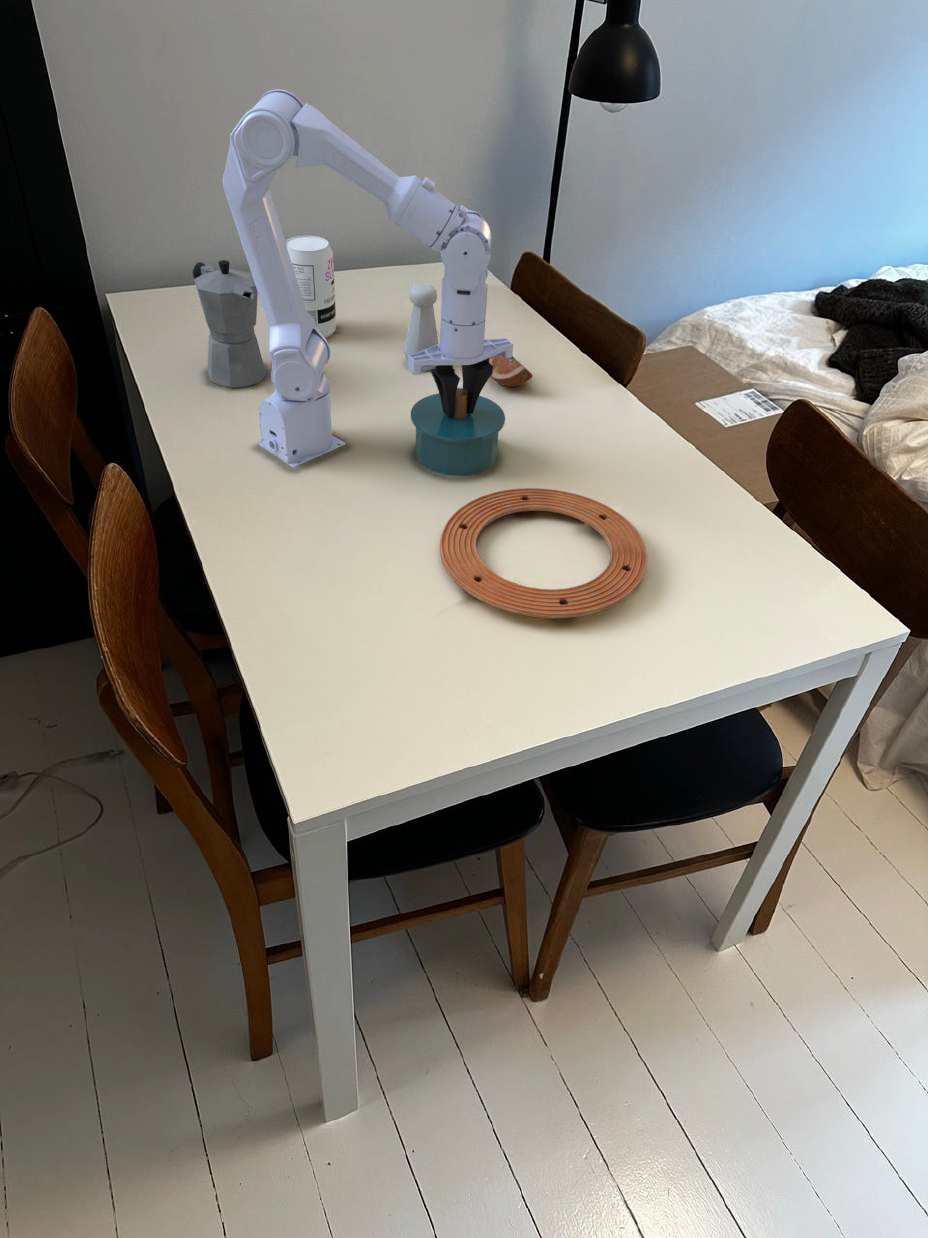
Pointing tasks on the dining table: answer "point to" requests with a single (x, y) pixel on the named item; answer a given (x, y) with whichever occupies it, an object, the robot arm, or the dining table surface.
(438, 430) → the lid
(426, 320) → the salt shaker
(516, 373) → the fruit slice
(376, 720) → the dining table surface
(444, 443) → the tin
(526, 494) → the ring
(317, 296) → the supplement can
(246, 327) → the coffeepot
